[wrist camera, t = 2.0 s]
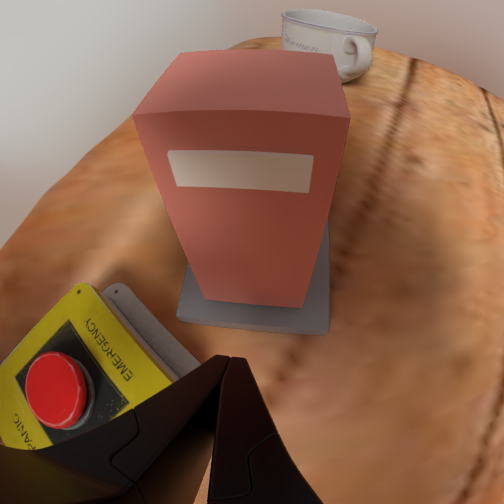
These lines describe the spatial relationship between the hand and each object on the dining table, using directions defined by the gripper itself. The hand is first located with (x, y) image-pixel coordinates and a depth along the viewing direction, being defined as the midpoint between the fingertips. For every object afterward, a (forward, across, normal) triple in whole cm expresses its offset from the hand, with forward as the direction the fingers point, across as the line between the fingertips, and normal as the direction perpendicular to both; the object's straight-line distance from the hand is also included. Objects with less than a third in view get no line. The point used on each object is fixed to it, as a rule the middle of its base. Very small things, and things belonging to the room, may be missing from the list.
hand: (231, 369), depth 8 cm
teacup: (+29, -6, -18) cm, 34 cm away
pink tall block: (+9, 0, 0) cm, 9 cm away
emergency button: (+3, +9, +8) cm, 13 cm away
